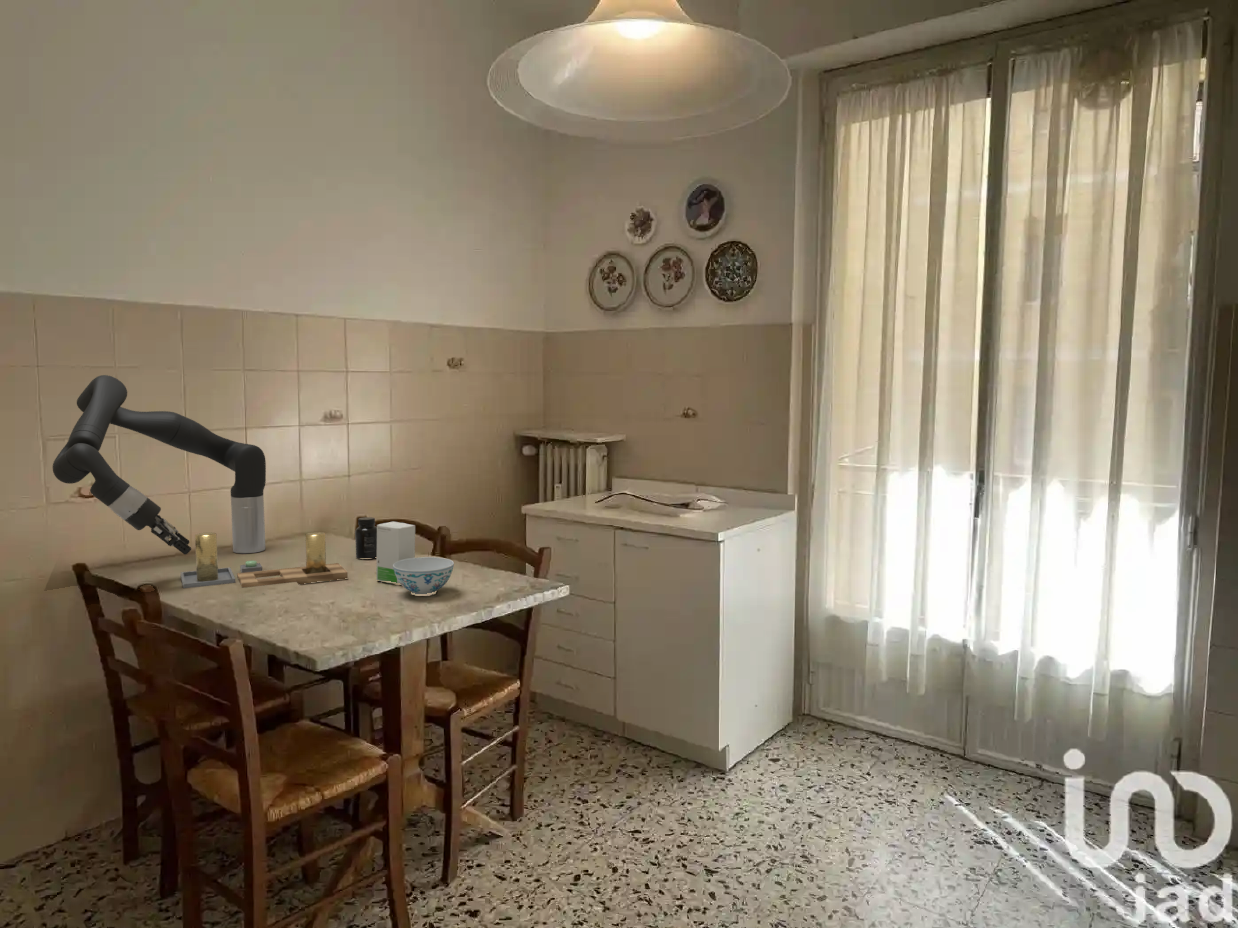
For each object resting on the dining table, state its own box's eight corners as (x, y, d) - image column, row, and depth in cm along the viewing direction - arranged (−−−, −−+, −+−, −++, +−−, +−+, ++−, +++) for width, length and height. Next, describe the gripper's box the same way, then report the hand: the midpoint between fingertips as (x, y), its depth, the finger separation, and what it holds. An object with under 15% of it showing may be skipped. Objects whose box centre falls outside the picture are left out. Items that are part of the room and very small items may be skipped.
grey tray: (180, 579, 219) (180, 572, 218) (230, 574, 225) (230, 567, 225) (183, 591, 207) (183, 584, 206) (235, 586, 213) (235, 578, 213)
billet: (196, 578, 217) (194, 533, 215) (217, 576, 219) (215, 531, 218) (197, 582, 212) (195, 536, 211) (219, 580, 215) (217, 535, 213)
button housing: (240, 573, 226) (240, 565, 225) (260, 571, 228) (259, 563, 228) (242, 577, 221) (242, 568, 221) (262, 575, 224) (262, 566, 224)
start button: (245, 565, 225) (244, 561, 225) (256, 564, 226) (255, 560, 226) (246, 567, 223) (246, 563, 222) (257, 566, 224) (257, 562, 224)
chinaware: (383, 591, 209) (383, 562, 209) (436, 582, 219) (436, 554, 218) (410, 604, 198) (409, 573, 197) (464, 594, 208) (464, 564, 207)
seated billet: (304, 576, 224) (303, 533, 222) (324, 574, 226) (323, 531, 225) (308, 580, 219) (307, 536, 218) (327, 578, 222) (326, 534, 221)
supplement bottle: (383, 555, 250) (382, 516, 249) (374, 560, 244) (373, 520, 242) (361, 554, 251) (360, 516, 250) (351, 559, 244) (351, 520, 243)
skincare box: (375, 582, 219) (374, 524, 217) (393, 576, 225) (392, 520, 223) (399, 586, 215) (398, 527, 213) (416, 580, 221) (415, 523, 219)
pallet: (237, 580, 218) (237, 573, 218) (338, 569, 231) (338, 562, 231) (242, 591, 208) (242, 583, 208) (347, 579, 221) (347, 572, 221)
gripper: (123, 513, 210) (175, 553, 217) (122, 524, 198) (177, 565, 205) (146, 492, 212) (197, 532, 219) (146, 501, 200) (200, 543, 207)
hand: (188, 548), depth 212 cm, fingers open, 8 cm apart
